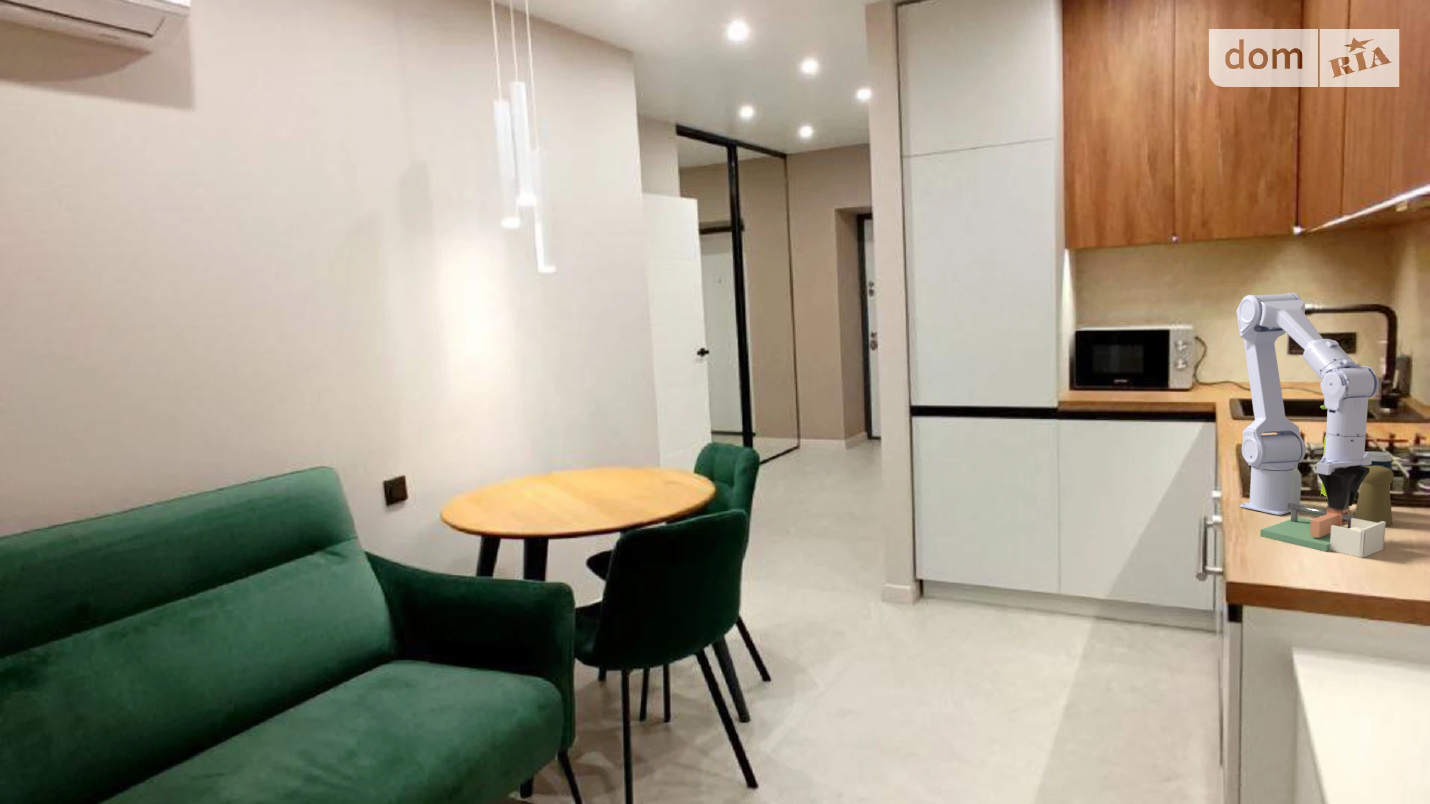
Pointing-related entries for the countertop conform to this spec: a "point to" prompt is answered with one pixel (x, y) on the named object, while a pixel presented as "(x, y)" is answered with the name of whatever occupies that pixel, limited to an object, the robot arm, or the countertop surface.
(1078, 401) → the countertop surface
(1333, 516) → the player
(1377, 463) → the beer can
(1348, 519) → the rod
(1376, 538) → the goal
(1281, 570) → the countertop surface
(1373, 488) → the cork
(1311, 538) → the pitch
